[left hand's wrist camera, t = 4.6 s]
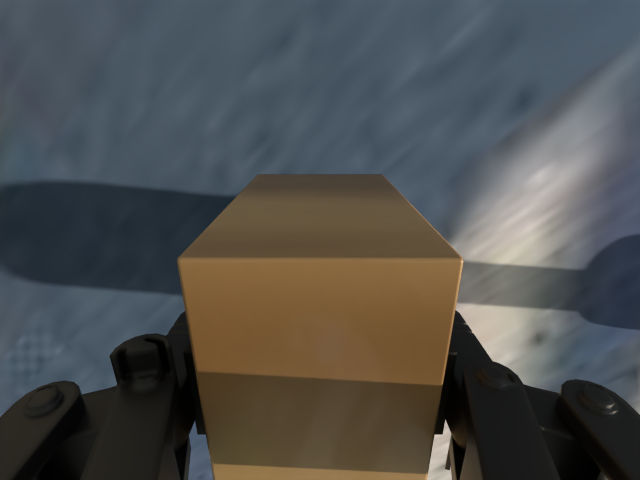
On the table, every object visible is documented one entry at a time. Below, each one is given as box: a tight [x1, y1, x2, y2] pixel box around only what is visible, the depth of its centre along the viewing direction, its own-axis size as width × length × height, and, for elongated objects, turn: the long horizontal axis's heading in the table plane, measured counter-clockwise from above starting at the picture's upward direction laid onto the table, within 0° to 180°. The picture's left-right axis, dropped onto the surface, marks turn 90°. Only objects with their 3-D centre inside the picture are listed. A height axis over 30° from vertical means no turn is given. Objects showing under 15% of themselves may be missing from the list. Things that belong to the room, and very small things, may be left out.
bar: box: [177, 174, 463, 480], centre depth 14 cm, size 24×5×8 cm, turn 0°
